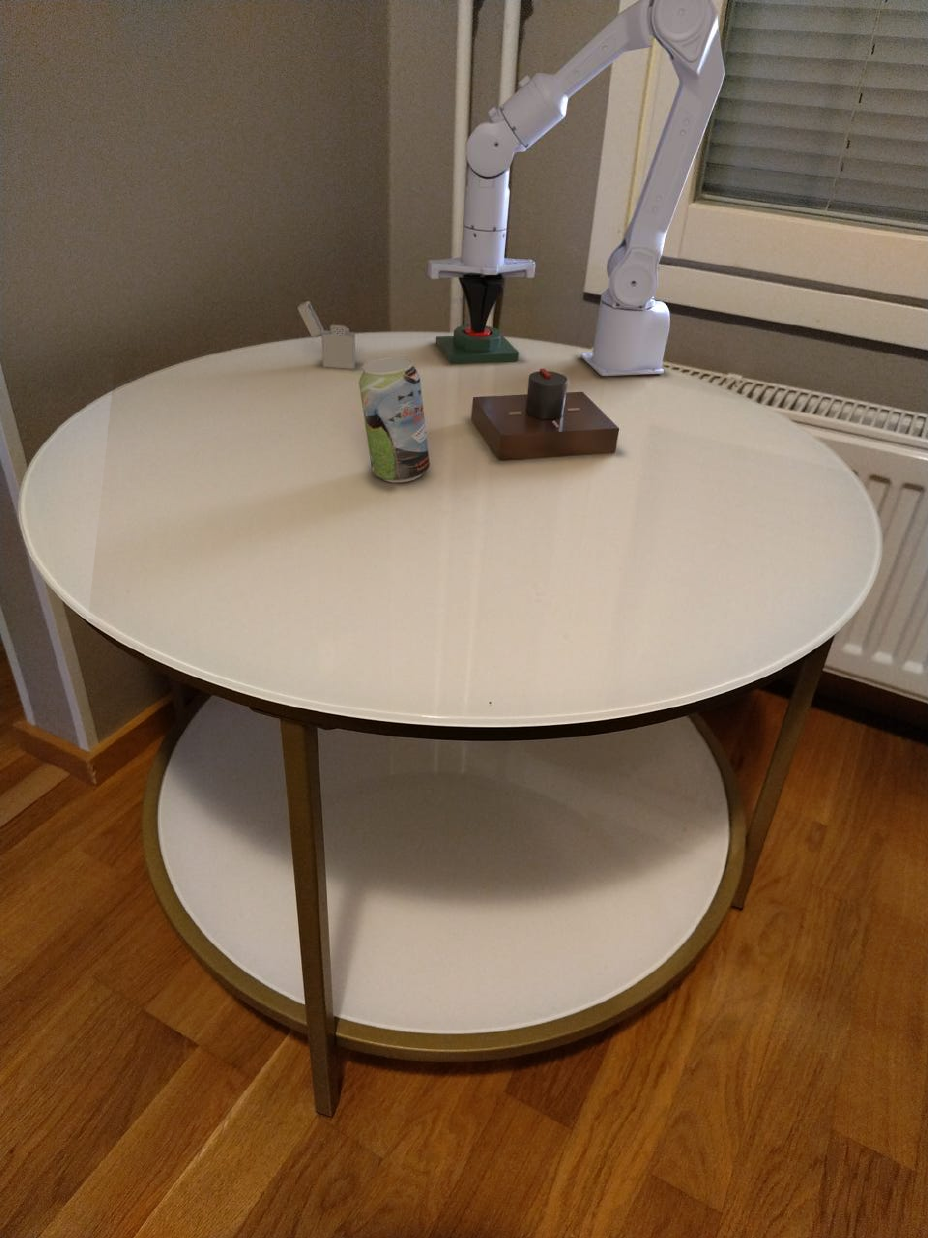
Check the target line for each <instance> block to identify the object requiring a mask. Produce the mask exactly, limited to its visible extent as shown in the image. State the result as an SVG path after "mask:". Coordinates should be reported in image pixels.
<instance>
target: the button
mask: <svg viewBox="0 0 928 1238" xmlns="http://www.w3.org/2000/svg"><path fill="white" fill-rule="evenodd" d="M465 334H467V335H470V336H477V337H486V336H490V330H489V329H487V328H485V331H484V333H475V332H474V331H473V330H472V329H471V327H468V328H466V329H465Z"/></svg>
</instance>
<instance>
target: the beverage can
mask: <svg viewBox="0 0 928 1238" xmlns="http://www.w3.org/2000/svg"><path fill="white" fill-rule="evenodd" d="M358 386H359V387H358V388H359V392H360V400H361V405H362V412H363V418H364V425H365V431H366V439H367V444H368V445H367V446H368V451H369V457H370V464H371V471H372V473H373V474H374V476H376V477H378V478H379V479H380V478H381V480H383V481H385V482H388V483H397V484H398V483H406V482H411V481H413V480H416V479H419V478H420V477H422V475H423V474H424V473H425V472H426V471H427V470H428V469H429V468H430V467H431V466H430V465H431V463H430V452H429V445H428V436H427V435H428V434H427V427H426V418H425V410H424V409H425V408H424V402H423V401H424V400H423V392H422V383H421V375H420V373H419V372H418V369H416V367H414V365H413V360H412V359H409V358H405V357H385V358H379V359H374V360H372V361H369V362H367V363H365V364H363V366H362V373H361V375H360V377H359V381H358Z"/></svg>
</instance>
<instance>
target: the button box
mask: <svg viewBox="0 0 928 1238" xmlns="http://www.w3.org/2000/svg"><path fill="white" fill-rule="evenodd" d="M468 327H471V323H470V324H463V325H459V326H456V327H455V329H454V330H453V335H436V336H435V346H436V347H437V348H438V350H439V352H440V353H441V354H442V355H443V357H444V358H445V359H446V360H447V362H448V363H449V364H450V365H453V364H455V365H456V364H476V363H477V364H479V363H480V364H481V363H504V362H518V361H519V357H520V352H519V351H518V350H517V349H516V348H515V347H514V346H513V345H512V344H511V343H510V342H509V341H508V339H506V337H505V336H504V335H503V334H502V331H500V330H499V329H498V328H496V327H493V326H490V325H486V327H485V328H487V329H489V330H490V336H486V337H477V336H470V335H467V334H465V329H466V328H468Z"/></svg>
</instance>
